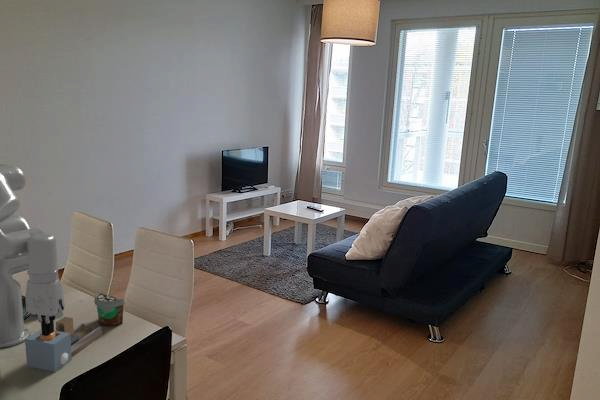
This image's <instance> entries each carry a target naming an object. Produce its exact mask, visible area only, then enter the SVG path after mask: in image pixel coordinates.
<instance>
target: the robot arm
mask: <svg viewBox="0 0 600 400" xmlns="http://www.w3.org/2000/svg"><path fill="white" fill-rule="evenodd" d="M25 186H26V176H25V173H24V171H23V170H22V169H21V168H20V167H19V166H17V165H14V164H0V348H7V347H12V346H13V347H14V346H16V345H19V344H21V343H23V342H25V338H27V337H29V336H30V335H31V331H30V329H29V328H28V327H25V321H24V311H23V309H24V308H23V299H22V298H23V296H22V287H21V285H20V284H21V283H20V282H18V280H16V279H15V278H13V275H15V274H18V273H22V272H26V271H27V275H28V280H27V281H26V285H25V286H26V288H25V310H26V312H27V313H29V314H32V315H34V316H36V318H37V319H38V322H39V323H40V326H41V327H40V329H41V330H42V335H45V336H48V335H50V334H51V333H53V332H54V330H55V325H54V323H55V322H54V321H55V320H57V319H62V318H64V313H63V312H64V310H65V296H64V290H63V286H62V282H61V280H60V279H59V267H58V265H59V264H58V251H57V249H58V248H57V240H56V239H57V238H56V237H55V236H54V234H51V233H47V232H46V231H45V230H44V229H43V228H41V227H34V228H31V227H30V225H29V223H28V222H27V220H26V219H25V218H24V217H23V216H22V215H19V214H17V213H16V212H17V211H18V210H19V208H20V207H21V202H20V199H19V198H18V196H17V194H16V193H15V192H17V191H20V190H22V189H24V188H25Z"/></svg>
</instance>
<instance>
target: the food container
mask: <svg viewBox="0 0 600 400" xmlns="http://www.w3.org/2000/svg"><path fill="white" fill-rule="evenodd" d="M102 292H103V291H102V290H101V291H100V292H98V293H96V294H95V296H94V299H93V301H94V305H96V310H97V318H98V323H99V325H100V326H101V327H108V328H109V327H116V326H120V325H121V326H122V324H124V321H123V320H124V305H125V304H126V302H125V299H124V298H120V299H119V298H116V297H114V296H113V295H106V294H104V293H102Z"/></svg>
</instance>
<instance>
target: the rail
mask: <svg viewBox="0 0 600 400" xmlns="http://www.w3.org/2000/svg"><path fill="white" fill-rule="evenodd" d="M74 334H78V335H79V341H78V342H76V343H75V344H73V345H72V346H71V355H72V358H73V357H74V356H77V354H78V353H80V352H81V351H83V350H85V348H86V347H88V346H90V345H91V344H92V343H93V342H95V341H97V340H98V339H99V338H101V337H102V336H103V330H102V326H101V325H100V326H98V327H96V328H95V329H94V328H90V327H89V328H88V327H86V325H85V323H80V325H78V326H77V327H74Z"/></svg>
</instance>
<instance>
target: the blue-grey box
mask: <svg viewBox="0 0 600 400" xmlns="http://www.w3.org/2000/svg"><path fill="white" fill-rule="evenodd" d="M54 331H55V338H53V339H52V340H50V341H44V340H41V339H40V334H41V333H42V330H41V328H40V329H39V330H37V331H35V332H34V333H32V334H30V336H29V337H27V338H25V341H24V343H25V344H24V346H25V357H26V367H28V368H35V369H39V370H43V371H48V372H53V373H56V372H58V371H59V370H60V369H62V368H63V367H65V366H66V365H67V364H68V363H70V362H71V361H73V359H72V358H73V357H72V355H71V337H70V333H65V332H60V331H56V329H54Z"/></svg>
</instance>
